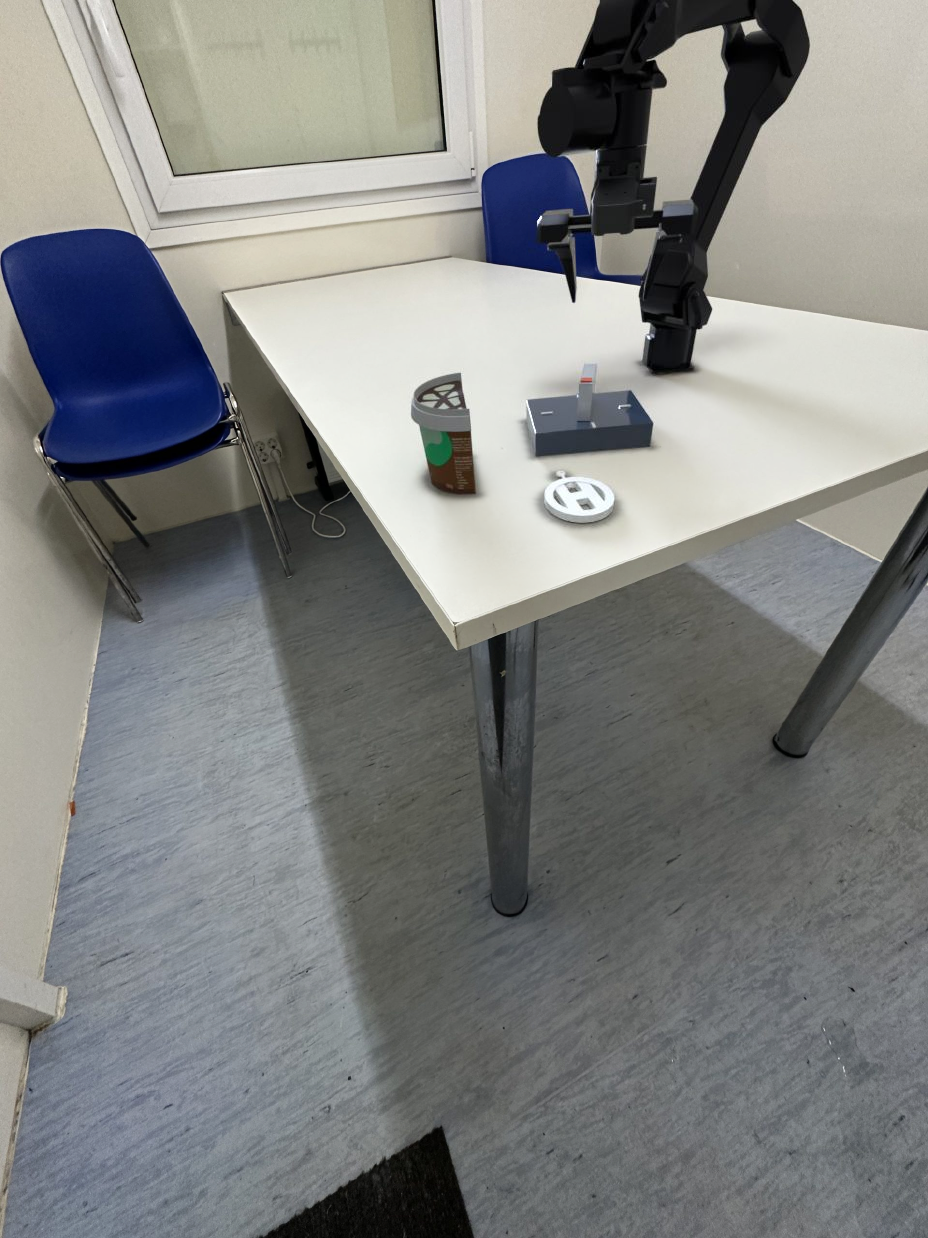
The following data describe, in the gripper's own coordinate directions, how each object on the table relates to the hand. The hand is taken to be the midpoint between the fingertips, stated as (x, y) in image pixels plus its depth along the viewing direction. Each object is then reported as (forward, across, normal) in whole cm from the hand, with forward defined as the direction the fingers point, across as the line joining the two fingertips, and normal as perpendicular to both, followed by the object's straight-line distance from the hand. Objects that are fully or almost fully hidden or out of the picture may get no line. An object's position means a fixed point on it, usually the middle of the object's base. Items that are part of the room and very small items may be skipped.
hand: (608, 300), depth 73 cm
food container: (+12, -16, -28) cm, 35 cm away
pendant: (+12, -1, -31) cm, 33 cm away
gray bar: (+9, -1, -15) cm, 17 cm away
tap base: (+12, -1, -15) cm, 19 cm away
